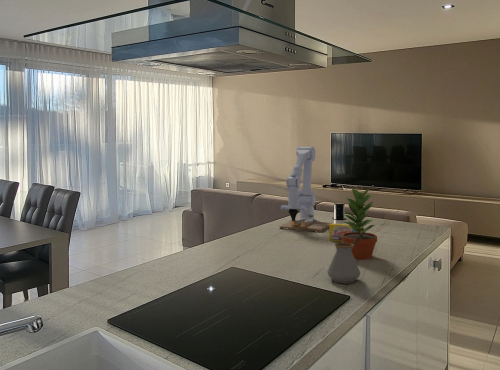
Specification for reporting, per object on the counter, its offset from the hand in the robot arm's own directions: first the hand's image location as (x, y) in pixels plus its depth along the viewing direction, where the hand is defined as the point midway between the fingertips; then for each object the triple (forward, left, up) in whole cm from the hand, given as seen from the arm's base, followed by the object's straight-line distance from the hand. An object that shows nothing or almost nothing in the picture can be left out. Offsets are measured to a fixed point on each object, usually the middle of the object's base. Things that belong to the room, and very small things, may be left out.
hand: (293, 222), depth 250 cm
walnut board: (-4, +6, -3) cm, 7 cm away
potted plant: (+43, +47, -3) cm, 64 cm away
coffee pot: (+71, +51, -3) cm, 87 cm away
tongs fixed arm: (-4, +6, -1) cm, 8 cm away
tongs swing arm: (-3, +2, -1) cm, 4 cm away
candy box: (+19, +35, -3) cm, 40 cm away
